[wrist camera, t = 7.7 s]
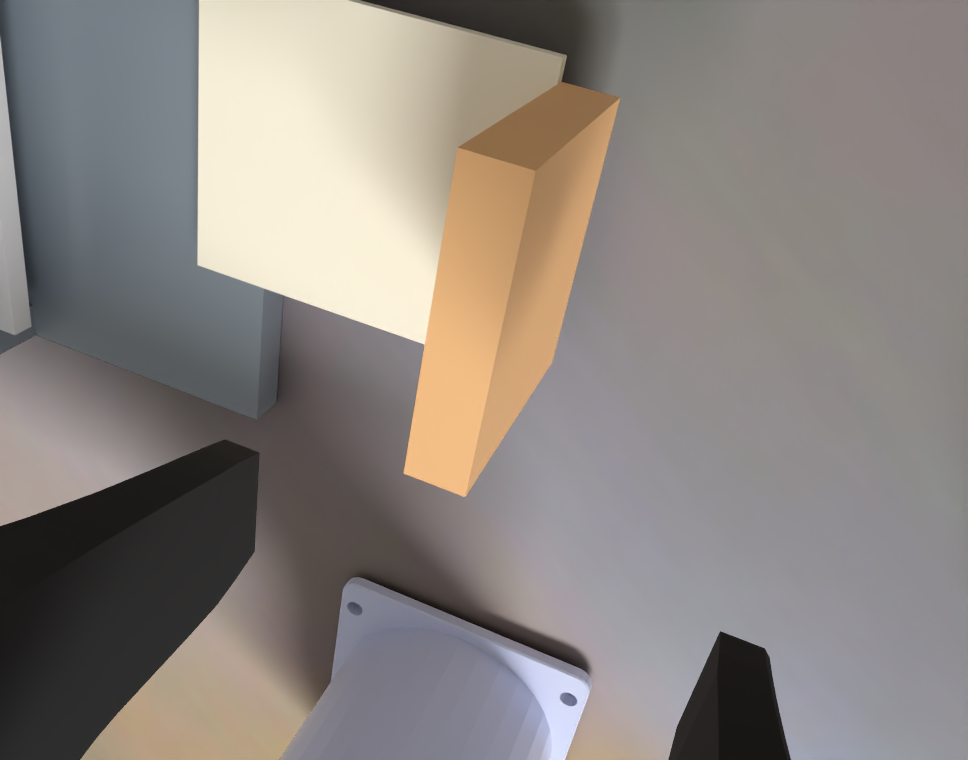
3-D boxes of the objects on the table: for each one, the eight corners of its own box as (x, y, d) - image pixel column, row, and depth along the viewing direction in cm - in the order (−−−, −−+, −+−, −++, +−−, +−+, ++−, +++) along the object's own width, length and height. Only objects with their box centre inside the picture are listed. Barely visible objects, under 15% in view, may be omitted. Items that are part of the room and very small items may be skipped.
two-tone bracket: (627, 71, 17) (543, 135, 12) (547, 380, 20) (461, 518, 16) (208, -40, 19) (-1, -20, 14) (204, 261, 22) (38, 354, 18)
